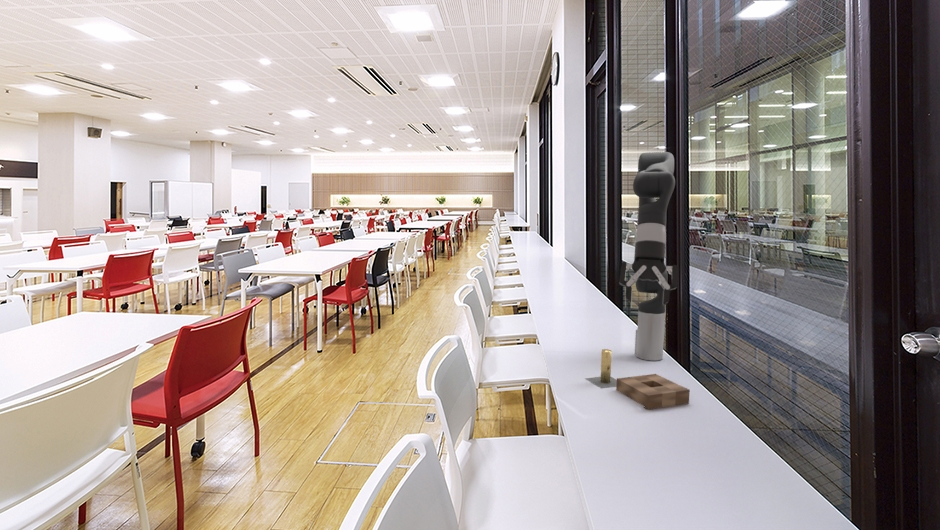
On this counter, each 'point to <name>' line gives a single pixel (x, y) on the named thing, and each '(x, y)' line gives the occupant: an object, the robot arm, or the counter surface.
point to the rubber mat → (602, 385)
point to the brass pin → (606, 366)
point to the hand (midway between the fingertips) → (646, 303)
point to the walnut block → (653, 391)
